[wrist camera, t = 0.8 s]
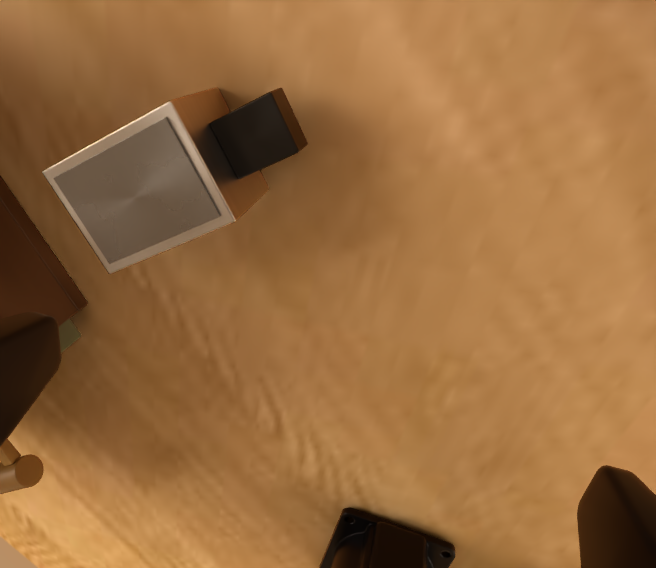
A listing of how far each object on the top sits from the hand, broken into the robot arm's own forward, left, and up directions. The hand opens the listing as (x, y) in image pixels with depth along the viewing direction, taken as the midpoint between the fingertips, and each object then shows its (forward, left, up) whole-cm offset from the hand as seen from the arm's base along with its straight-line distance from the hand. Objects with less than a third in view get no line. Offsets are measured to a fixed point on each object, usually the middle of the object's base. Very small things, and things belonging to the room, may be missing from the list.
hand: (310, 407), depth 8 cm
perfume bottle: (-1, +7, -14) cm, 15 cm away
